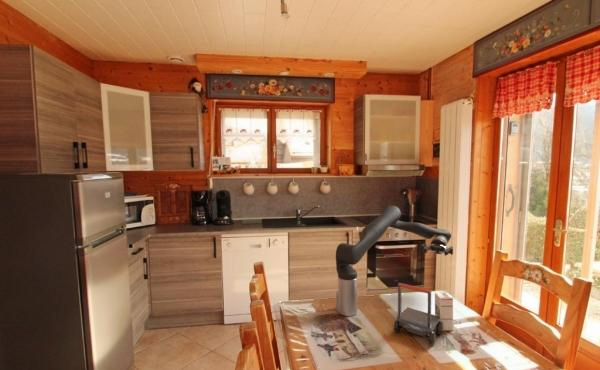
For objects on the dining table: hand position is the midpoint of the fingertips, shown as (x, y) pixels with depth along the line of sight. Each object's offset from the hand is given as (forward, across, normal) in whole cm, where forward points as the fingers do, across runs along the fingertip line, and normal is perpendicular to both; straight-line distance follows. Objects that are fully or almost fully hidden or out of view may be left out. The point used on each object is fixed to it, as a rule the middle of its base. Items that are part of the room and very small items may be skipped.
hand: (435, 252), depth 140 cm
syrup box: (+10, +5, +30) cm, 32 cm away
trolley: (+21, -4, +30) cm, 37 cm away
